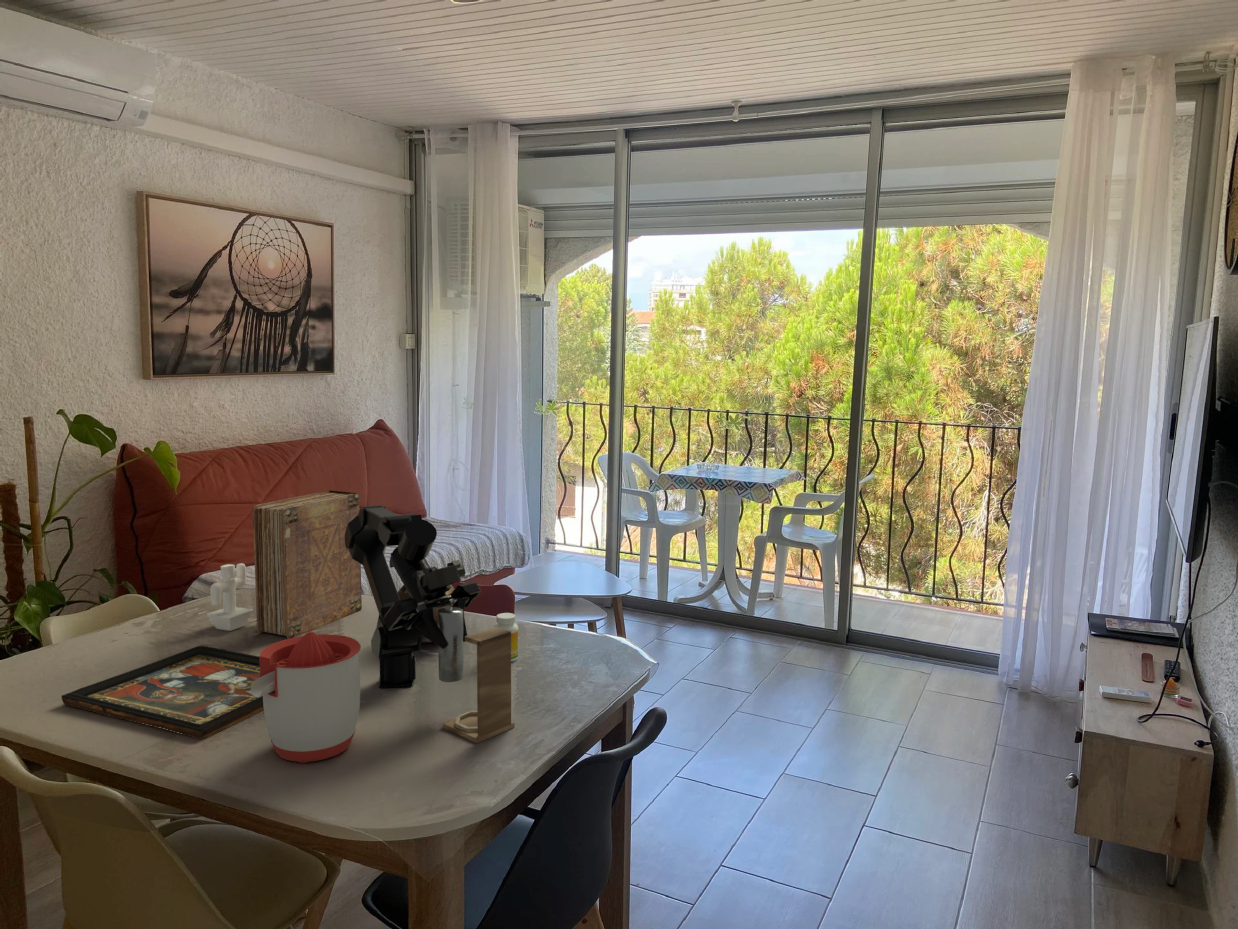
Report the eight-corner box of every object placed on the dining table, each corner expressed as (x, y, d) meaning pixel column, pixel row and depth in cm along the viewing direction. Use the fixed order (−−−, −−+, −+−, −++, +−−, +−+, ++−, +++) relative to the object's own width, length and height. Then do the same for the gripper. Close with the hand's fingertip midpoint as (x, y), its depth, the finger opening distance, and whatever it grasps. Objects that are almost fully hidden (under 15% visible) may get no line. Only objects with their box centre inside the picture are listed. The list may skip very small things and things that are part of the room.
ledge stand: (442, 727, 153) (441, 630, 150) (479, 712, 159) (479, 619, 157) (477, 743, 147) (476, 642, 145) (514, 727, 153) (514, 630, 151)
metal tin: (433, 679, 157) (433, 612, 155) (447, 671, 161) (447, 605, 159) (454, 683, 155) (454, 615, 153) (468, 675, 159) (467, 609, 157)
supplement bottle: (492, 663, 184) (492, 619, 183) (493, 654, 189) (493, 612, 188) (518, 663, 185) (518, 619, 183) (518, 654, 190) (518, 611, 189)
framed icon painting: (340, 672, 179) (340, 659, 179) (219, 747, 146) (219, 730, 145) (187, 653, 189) (186, 640, 189) (41, 718, 156) (40, 702, 155)
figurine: (202, 630, 202) (199, 567, 200) (234, 619, 211) (231, 558, 209) (226, 635, 200) (223, 571, 198) (257, 623, 208) (254, 562, 206)
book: (287, 639, 197) (282, 509, 193) (256, 634, 201) (251, 505, 197) (362, 609, 220) (359, 492, 216) (333, 605, 224) (329, 489, 220)
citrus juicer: (237, 750, 143) (231, 632, 141) (336, 719, 155) (333, 611, 153) (277, 784, 132) (272, 658, 130) (380, 749, 144) (378, 632, 142)
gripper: (392, 557, 150) (435, 633, 144) (474, 539, 164) (515, 608, 159) (366, 593, 156) (405, 667, 150) (447, 572, 170) (486, 640, 165)
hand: (455, 644), depth 156 cm, fingers closed on metal tin, 4 cm apart
